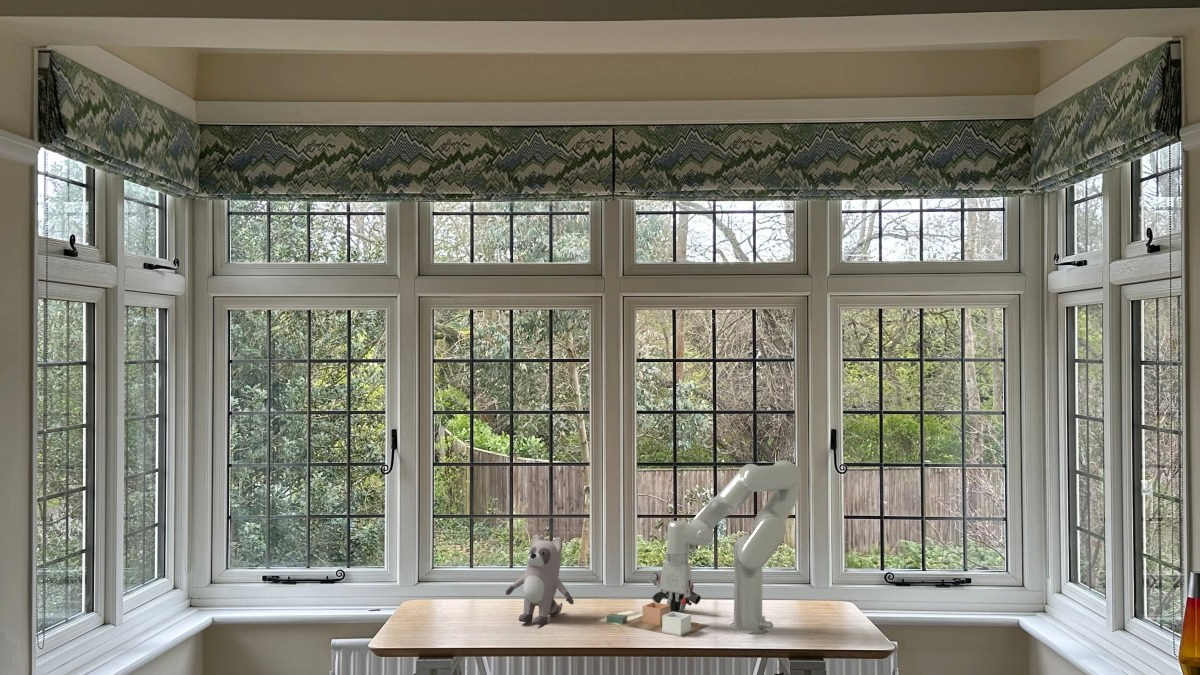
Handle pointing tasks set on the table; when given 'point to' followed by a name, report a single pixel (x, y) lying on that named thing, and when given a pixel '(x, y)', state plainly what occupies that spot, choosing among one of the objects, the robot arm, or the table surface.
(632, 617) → the board
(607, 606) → the table surface
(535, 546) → the toy
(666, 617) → the white open cubby box
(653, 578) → the toy gun
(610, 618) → the tin
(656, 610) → the peach open cubby box
